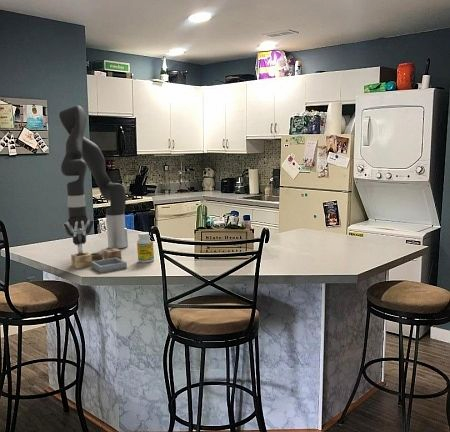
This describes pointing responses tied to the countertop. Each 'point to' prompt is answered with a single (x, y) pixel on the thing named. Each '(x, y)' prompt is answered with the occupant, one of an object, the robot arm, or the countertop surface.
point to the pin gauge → (79, 243)
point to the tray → (108, 265)
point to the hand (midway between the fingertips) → (79, 243)
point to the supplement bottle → (145, 248)
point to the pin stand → (96, 256)
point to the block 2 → (112, 253)
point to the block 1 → (81, 260)
